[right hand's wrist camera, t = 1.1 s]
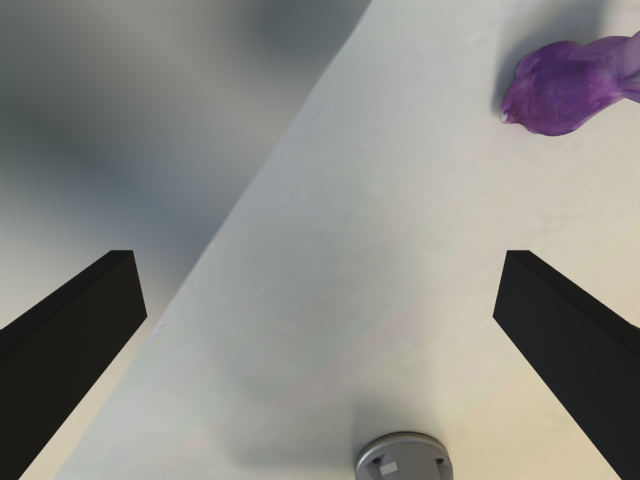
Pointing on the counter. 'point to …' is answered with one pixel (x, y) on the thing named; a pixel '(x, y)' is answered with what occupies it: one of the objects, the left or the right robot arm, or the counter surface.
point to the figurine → (572, 84)
